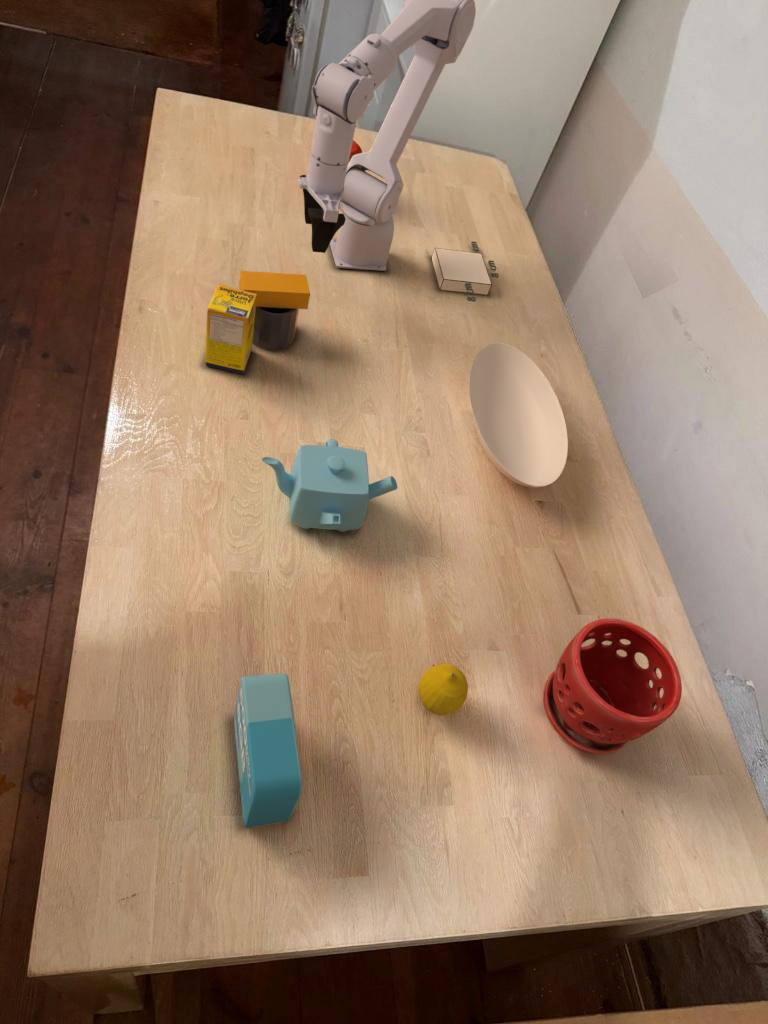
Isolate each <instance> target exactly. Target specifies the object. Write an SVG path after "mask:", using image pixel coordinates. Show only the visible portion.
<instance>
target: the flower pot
mask: <svg viewBox="0 0 768 1024" xmlns="http://www.w3.org/2000/svg"><path fill="white" fill-rule="evenodd" d="M590 640H594V641H593V642H592V643H589V644H588V645H584V646H582V645H583V644H584V643H585V642H586V641H590ZM622 640H626V641H628V642H630V643H629V644H624V642H623V643H622V642H621V641H622ZM604 642H610V644H605V643H604ZM618 651H623V652H625V653H626V654H627V655H626V656H625V655H624V656H622V655H619V653H618ZM637 653H639V654H641V655H643V656H644V657H645V658H646V659H647V661H648V662H647V663H648V666H647V667H646V668H643V667H642V666H641V665H640V664H639V663H638V662H637V660H636V654H637ZM657 669H658V670H659V672H660V678H659V676H658V674H657ZM650 681H651V683H652V686H651V684H650ZM682 685H683V684H682V677H681V674H680V671H679V668H678V666H677V663H676V661H675V659H674V657H673V656H672V654H671V653H670V651H669V650H668V648H667V647H666V646H665V645H664V644H663V643H662V642H661V640H659V639H658V638H657V637H656V636H655V635H654V634H652V633H651V632H650V631H648V630H647V629H645V628H643V627H642V626H640V625H638V624H636V623H633V622H630V621H628V620H624V619H619V618H601V619H596V620H593V621H590V622H589V623H587V624H585V625H584V626H583V627H582V628H581V629H580V630H579V631H578V632H577V633H576V634H575V636H574V637H572V639H571V641H570V642H569V643H568V644H567V645H566V647H565V648H564V650H563V651H562V654H561V655H560V657H559V660H558V661H557V663H556V667H555V670H553V671H552V673H550V675H549V676H548V679H546V681H545V684H544V688H543V696H542V697H543V698H542V699H543V706H544V707H543V708H544V711H545V714H546V717H547V719H548V721H549V723H550V725H551V727H552V728H553V729H554V730H555V732H556V733H557V734H558V736H559V737H561V738H562V739H563V740H564V741H565V742H566V743H567V744H569V745H570V746H571V747H573V748H574V749H577V750H578V751H582V752H584V753H588V754H593V755H608V754H612V753H615V752H617V751H620V750H621V749H622V748H623V747H625V746H626V745H627V744H628V742H631V741H634V740H637V739H639V738H641V737H644V736H645V735H647V734H648V733H650V732H652V731H654V730H655V729H657V728H659V727H660V726H661V725H663V724H664V723H665V722H666V721H668V719H670V718H671V717H672V716H673V715H674V713H675V712H676V711H677V710H678V707H679V705H680V703H681V699H682V692H683V686H682ZM661 689H662V691H663V692H662V693H663V694H662V696H661Z"/></svg>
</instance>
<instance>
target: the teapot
mask: <svg viewBox="0 0 768 1024" xmlns="http://www.w3.org/2000/svg"><path fill="white" fill-rule="evenodd" d="M261 460H262V462H263V463H265V464H266V465H268V466H269V467H271V468H272V470H273V471H274V473H275V479H276V484H277V487H278V489H279V490H280V492H281V493H282V494H283V495H285V496H286V497H288V505H289V506H288V507H289V519H290V523H291V524H292V525H294V526H298V527H300V528H302V529H304V530H308V529H311V528H312V529H321V530H332V531H335V530H336V531H339V532H347V531H355V530H359V529H361V527H362V526H363V525H364V523H365V520H366V516H367V512H368V507H369V501H370V500H374V499H375V498H378V497H380V496H383V495H386V494H388V493H391V492H393V491H396V490H398V482H397V480H396V478H395V477H394V476H393V475H391V476H388V477H386V478H382V479H380V480H377V481H375V482H372V483H370V482H369V481H370V479H369V467H368V466H369V464H368V456H367V452H366V451H364V450H361V449H356V448H350V447H341V446H339V442H338V441H337V440H336V439H332V438H330V439H327V440H326V442H325V445H322V444H321V445H319V444H303V445H300V447H299V448H298V451H297V453H296V455H295V457H294V459H293V463H292V466H291V470H290V473H288V472H287V471H286V470H285V466H284V464H283V462H281V460H279V459H277V458H274V457H270V456H264V457H262V458H261Z"/></svg>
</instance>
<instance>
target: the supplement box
mask: <svg viewBox="0 0 768 1024" xmlns="http://www.w3.org/2000/svg"><path fill="white" fill-rule="evenodd" d="M256 298H257V294H255V293H251V292H247V291H243V290H240V289H238V288H235V287H230V286H227V285H222V284H217V285H216V287H215V290H214V293H213V294H212V297H211V299H210V302H209V304H208V307H207V310H206V313H207V314H206V335H205V336H206V337H205V366H206V367H210V368H216V369H219V370H223V371H224V370H225V371H227V372H228V371H229V372H233V373H237V374H242V375H244V374H245V371H246V368H247V365H248V362H249V359H250V356H251V353H252V350H253V343H252V342H253V331H254V321H255V310H256Z"/></svg>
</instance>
